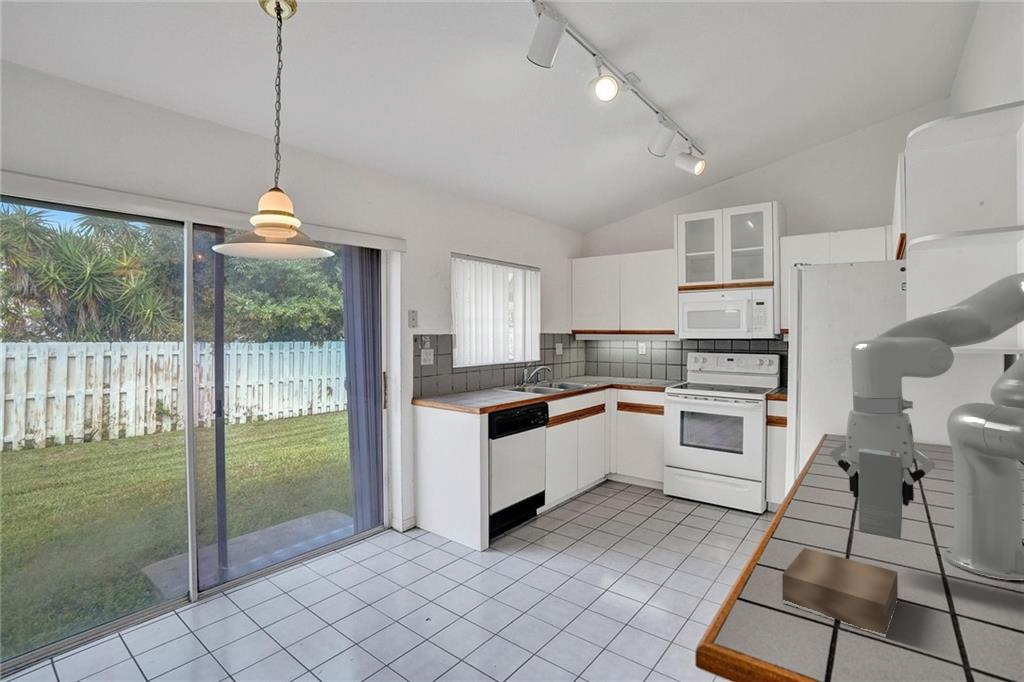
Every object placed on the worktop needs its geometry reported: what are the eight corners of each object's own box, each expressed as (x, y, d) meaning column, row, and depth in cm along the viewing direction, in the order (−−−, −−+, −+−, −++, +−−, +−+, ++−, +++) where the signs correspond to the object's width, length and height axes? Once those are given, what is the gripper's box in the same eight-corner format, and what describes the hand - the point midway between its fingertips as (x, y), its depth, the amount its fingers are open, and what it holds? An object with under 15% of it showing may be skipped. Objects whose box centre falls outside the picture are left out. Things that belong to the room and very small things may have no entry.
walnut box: (897, 600, 83) (897, 571, 83) (885, 638, 73) (885, 605, 73) (804, 573, 93) (804, 547, 93) (782, 603, 83) (782, 574, 83)
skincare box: (861, 518, 98) (856, 439, 98) (906, 525, 94) (902, 443, 94) (857, 533, 92) (852, 449, 92) (906, 541, 87) (901, 453, 87)
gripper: (939, 406, 89) (943, 503, 89) (828, 400, 101) (831, 486, 101) (936, 412, 84) (940, 515, 84) (819, 405, 96) (823, 496, 96)
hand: (881, 498), depth 93 cm, fingers closed on skincare box, 6 cm apart
